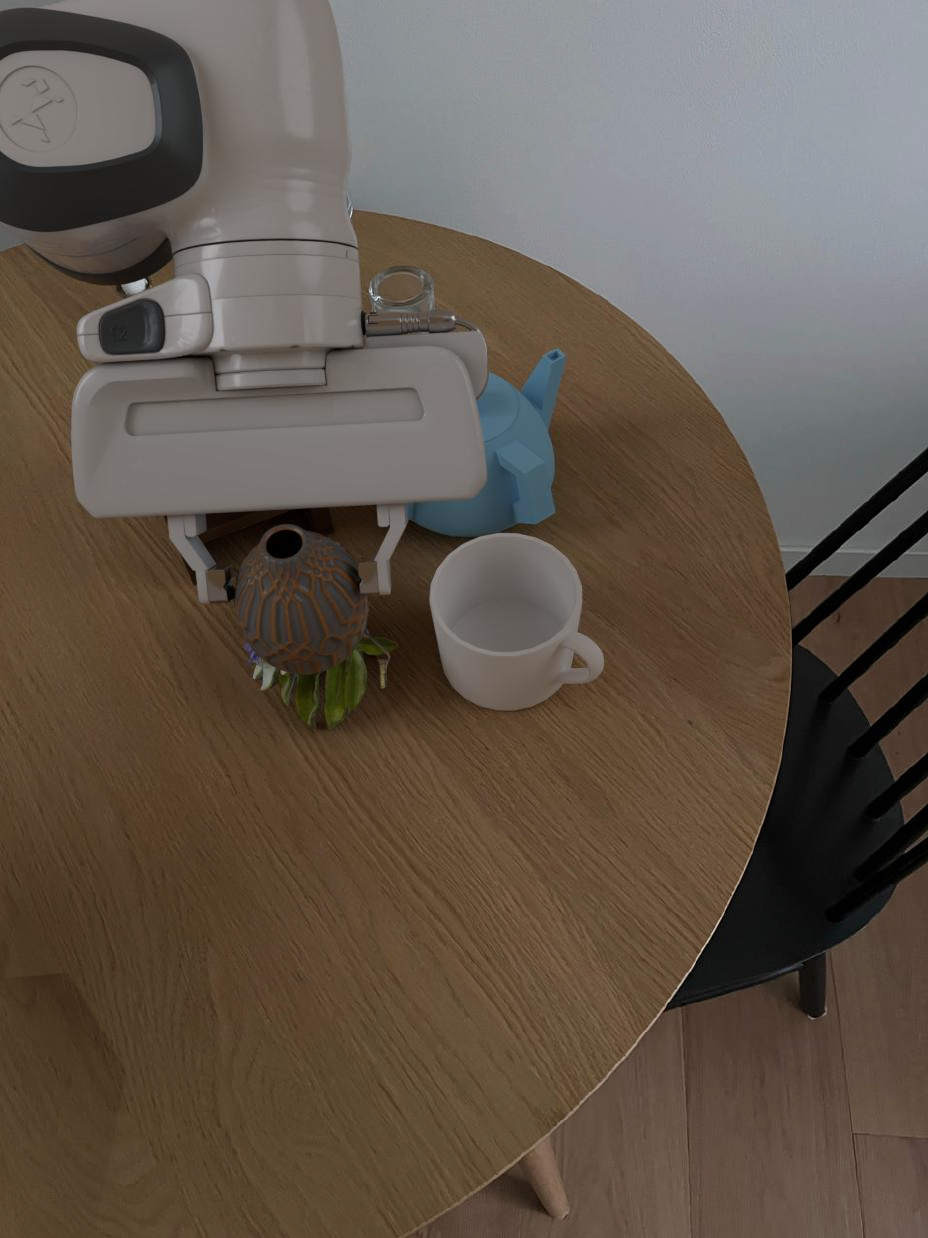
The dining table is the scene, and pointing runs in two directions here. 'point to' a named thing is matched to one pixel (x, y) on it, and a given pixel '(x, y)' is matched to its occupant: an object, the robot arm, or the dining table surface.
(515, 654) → the mug
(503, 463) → the teapot
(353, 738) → the dining table surface
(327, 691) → the passion flower
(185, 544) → the robot arm
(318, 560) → the vase
